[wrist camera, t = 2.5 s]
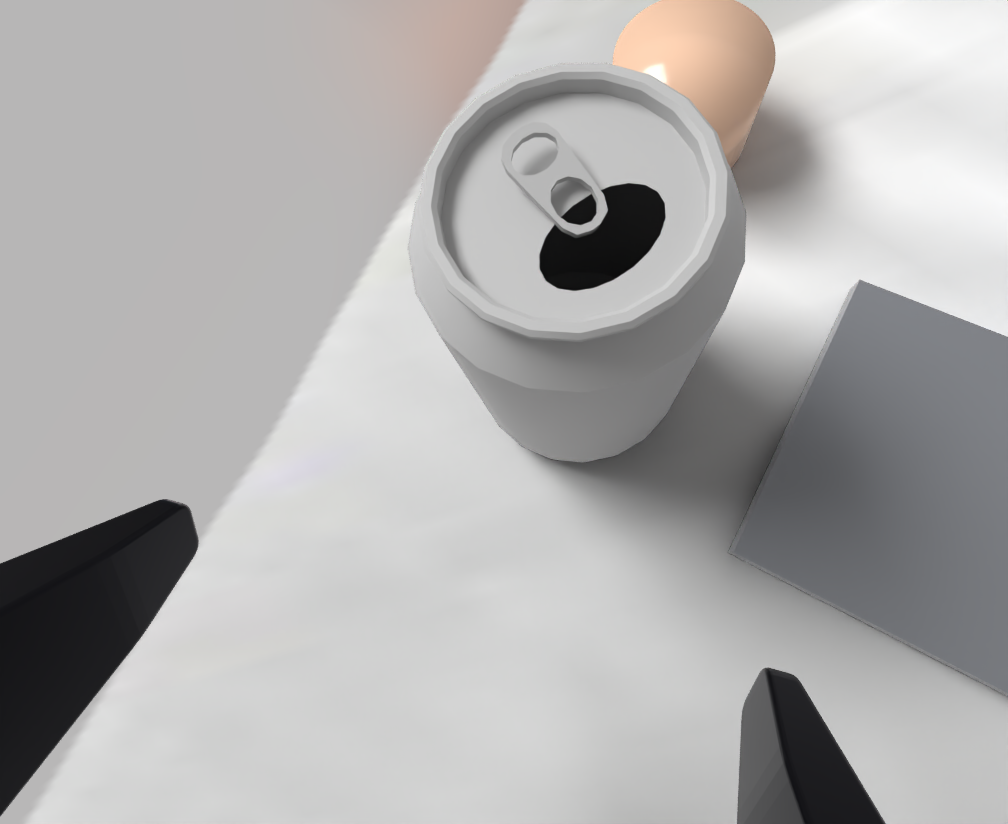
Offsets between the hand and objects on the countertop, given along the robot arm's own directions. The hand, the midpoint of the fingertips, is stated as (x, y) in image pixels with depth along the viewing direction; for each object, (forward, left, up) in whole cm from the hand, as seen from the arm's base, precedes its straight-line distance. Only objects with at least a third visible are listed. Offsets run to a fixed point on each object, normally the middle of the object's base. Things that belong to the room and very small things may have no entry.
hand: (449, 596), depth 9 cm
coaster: (+10, -10, -13) cm, 20 cm away
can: (+7, +3, -13) cm, 15 cm away
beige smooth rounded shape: (+18, +5, -13) cm, 23 cm away
